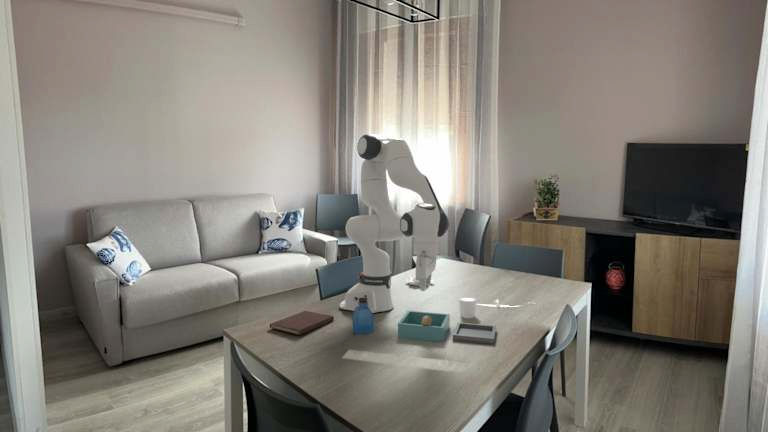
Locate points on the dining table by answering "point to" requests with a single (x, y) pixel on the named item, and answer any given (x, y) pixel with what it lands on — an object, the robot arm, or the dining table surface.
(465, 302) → the white cylinder
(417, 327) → the shallow teal crate
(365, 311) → the perfume bottle
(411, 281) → the lotus flower
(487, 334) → the charcoal tray
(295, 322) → the notebook
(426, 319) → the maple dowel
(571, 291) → the dining table surface
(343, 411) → the dining table surface
